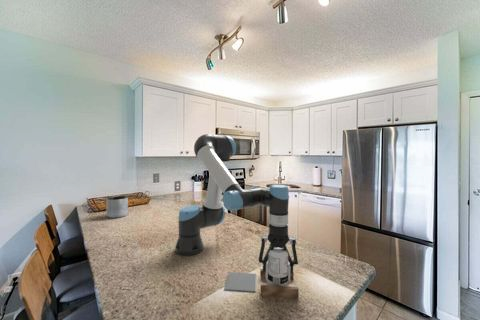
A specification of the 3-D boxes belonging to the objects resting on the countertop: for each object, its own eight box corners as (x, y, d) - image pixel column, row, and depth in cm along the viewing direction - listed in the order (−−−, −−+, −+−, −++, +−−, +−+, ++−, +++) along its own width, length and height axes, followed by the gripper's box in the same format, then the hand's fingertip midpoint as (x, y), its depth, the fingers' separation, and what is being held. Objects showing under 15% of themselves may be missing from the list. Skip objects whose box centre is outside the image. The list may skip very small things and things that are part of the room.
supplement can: (265, 279, 89) (265, 244, 89) (284, 279, 90) (285, 244, 89) (269, 292, 81) (270, 253, 81) (290, 291, 82) (291, 253, 81)
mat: (224, 290, 82) (224, 289, 82) (228, 273, 94) (228, 272, 94) (255, 292, 81) (255, 291, 81) (255, 274, 93) (255, 273, 93)
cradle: (260, 295, 79) (260, 283, 79) (260, 275, 93) (260, 265, 92) (298, 297, 78) (298, 285, 78) (292, 277, 91) (292, 266, 91)
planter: (112, 219, 169) (112, 200, 169) (102, 216, 178) (102, 198, 178) (131, 215, 183) (131, 197, 182) (121, 212, 191) (121, 195, 191)
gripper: (252, 225, 82) (251, 283, 82) (307, 228, 80) (306, 287, 81) (252, 220, 89) (252, 273, 90) (303, 222, 88) (302, 276, 88)
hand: (277, 279), depth 85 cm, fingers closed on supplement can, 8 cm apart
